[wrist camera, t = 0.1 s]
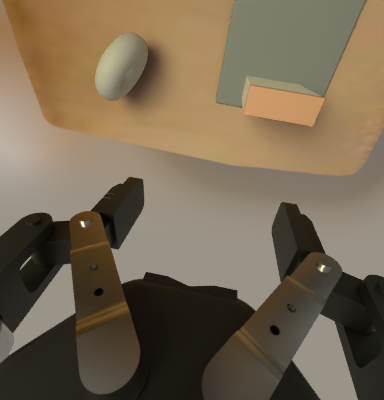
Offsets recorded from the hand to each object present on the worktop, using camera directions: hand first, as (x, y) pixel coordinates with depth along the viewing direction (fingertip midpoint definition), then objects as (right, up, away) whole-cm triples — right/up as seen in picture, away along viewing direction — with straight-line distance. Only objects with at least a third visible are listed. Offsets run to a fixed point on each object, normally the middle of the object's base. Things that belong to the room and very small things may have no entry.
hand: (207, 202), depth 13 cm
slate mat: (+12, +22, +18) cm, 31 cm away
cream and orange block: (+11, +17, +22) cm, 30 cm away
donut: (-10, +22, +24) cm, 34 cm away
